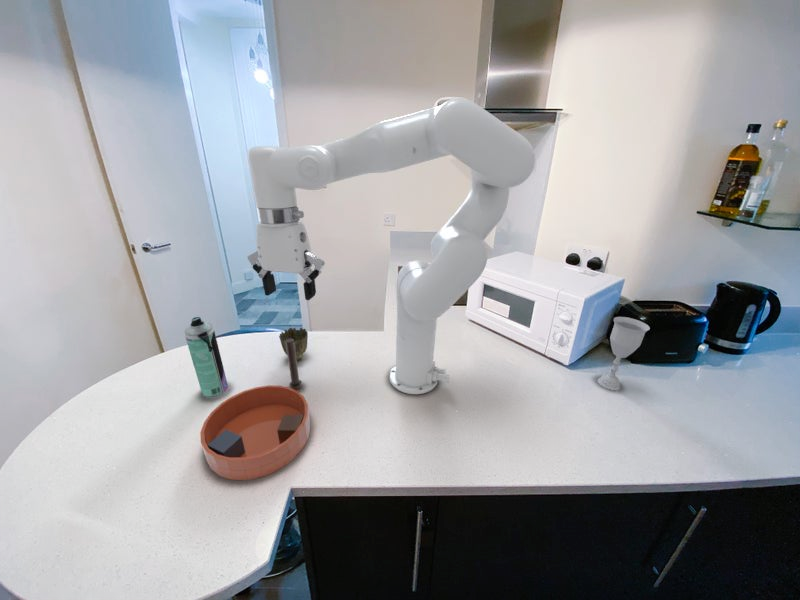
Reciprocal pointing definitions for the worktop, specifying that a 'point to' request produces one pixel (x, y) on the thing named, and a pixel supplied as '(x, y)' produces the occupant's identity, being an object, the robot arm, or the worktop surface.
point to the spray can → (206, 358)
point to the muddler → (293, 365)
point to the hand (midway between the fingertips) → (290, 295)
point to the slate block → (228, 445)
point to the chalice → (623, 346)
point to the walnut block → (288, 426)
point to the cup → (295, 340)
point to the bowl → (256, 431)
